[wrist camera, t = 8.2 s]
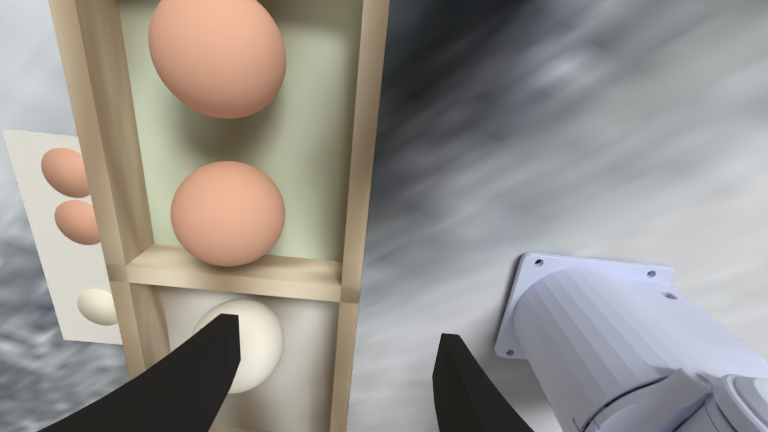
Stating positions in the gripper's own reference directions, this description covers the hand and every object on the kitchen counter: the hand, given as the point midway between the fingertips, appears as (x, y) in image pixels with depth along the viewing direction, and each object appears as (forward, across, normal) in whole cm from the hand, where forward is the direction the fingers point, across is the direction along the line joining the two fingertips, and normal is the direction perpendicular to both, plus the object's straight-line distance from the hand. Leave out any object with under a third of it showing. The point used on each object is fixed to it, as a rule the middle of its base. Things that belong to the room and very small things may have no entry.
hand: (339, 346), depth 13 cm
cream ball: (+6, +6, +6) cm, 10 cm away
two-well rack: (+9, +6, +2) cm, 11 cm away
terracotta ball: (+6, +6, -2) cm, 9 cm away
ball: (+6, +6, -9) cm, 12 cm away
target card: (+9, +16, +3) cm, 19 cm away
